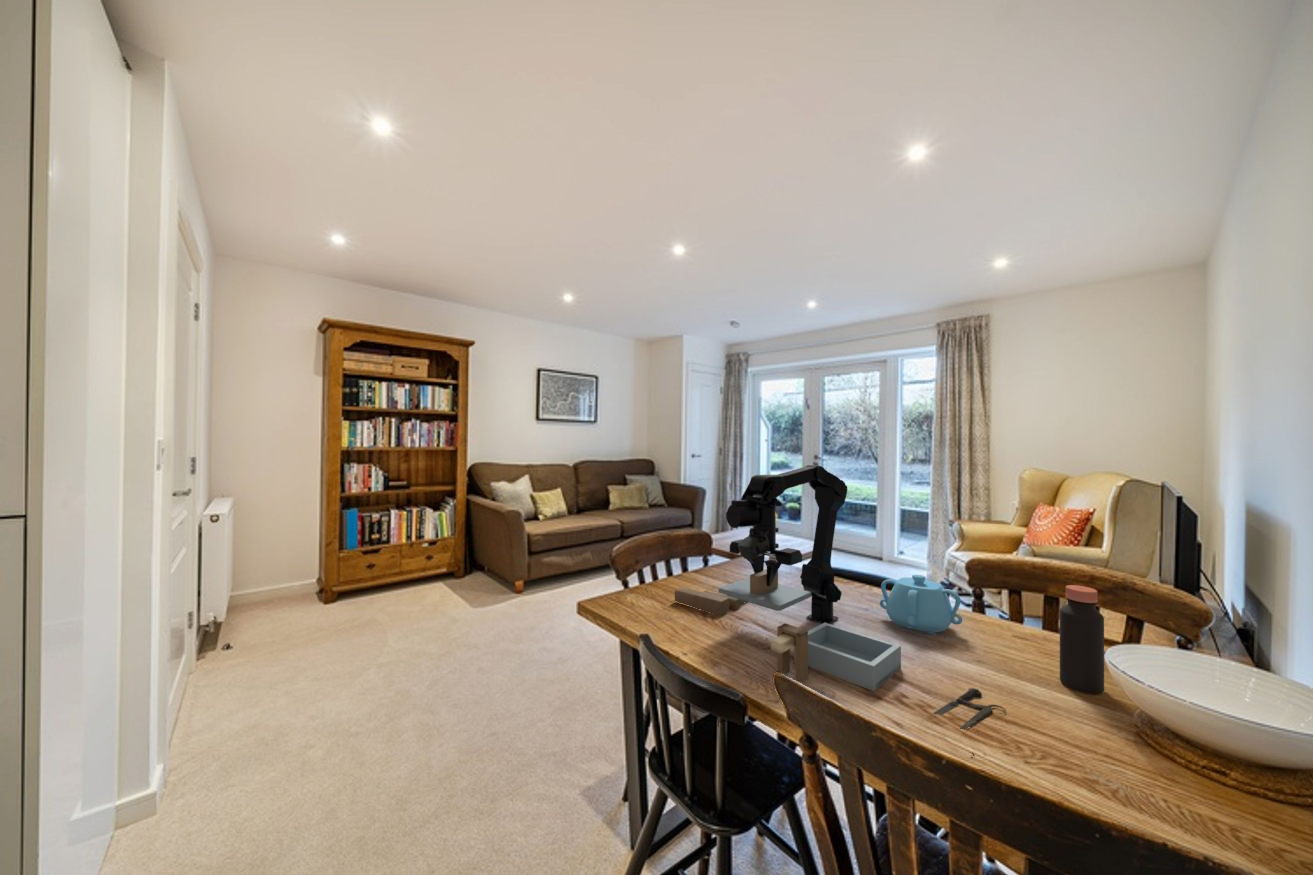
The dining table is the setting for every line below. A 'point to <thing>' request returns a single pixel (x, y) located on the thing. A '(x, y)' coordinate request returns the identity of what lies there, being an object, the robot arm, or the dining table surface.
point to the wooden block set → (707, 601)
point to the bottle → (1082, 641)
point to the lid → (765, 592)
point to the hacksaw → (964, 699)
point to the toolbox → (841, 654)
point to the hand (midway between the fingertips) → (764, 584)
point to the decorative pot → (920, 604)
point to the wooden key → (782, 643)
